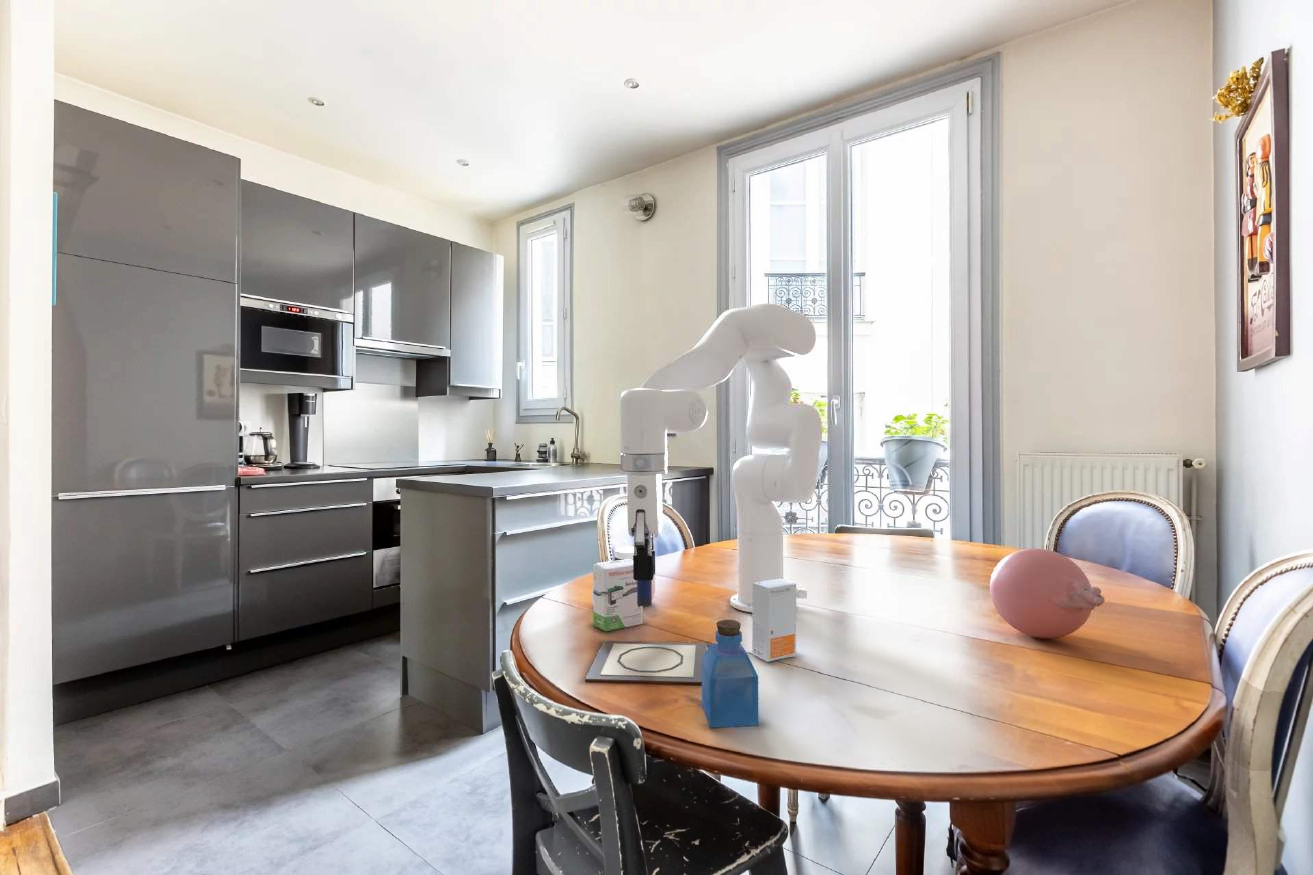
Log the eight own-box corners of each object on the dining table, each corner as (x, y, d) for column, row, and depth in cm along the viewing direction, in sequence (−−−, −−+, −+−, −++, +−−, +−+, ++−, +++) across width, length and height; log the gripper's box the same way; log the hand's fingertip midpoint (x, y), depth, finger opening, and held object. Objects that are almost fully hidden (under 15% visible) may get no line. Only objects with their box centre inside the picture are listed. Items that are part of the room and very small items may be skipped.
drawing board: (707, 645, 104) (707, 641, 104) (706, 684, 88) (706, 680, 88) (604, 642, 106) (604, 639, 106) (585, 681, 90) (585, 677, 90)
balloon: (1051, 665, 94) (1052, 566, 94) (971, 623, 114) (971, 542, 114) (1141, 660, 96) (1142, 563, 95) (1047, 620, 115) (1047, 539, 115)
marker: (652, 602, 100) (652, 541, 100) (651, 606, 97) (650, 544, 97) (638, 601, 100) (637, 541, 100) (636, 606, 98) (635, 544, 97)
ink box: (604, 632, 111) (604, 568, 111) (592, 625, 115) (591, 563, 115) (644, 623, 116) (643, 562, 116) (631, 616, 120) (630, 557, 120)
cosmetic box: (767, 663, 96) (767, 588, 96) (751, 654, 100) (751, 582, 99) (797, 656, 99) (797, 583, 98) (780, 648, 102) (780, 577, 102)
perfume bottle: (702, 705, 82) (701, 616, 82) (747, 702, 82) (746, 615, 82) (709, 727, 76) (709, 632, 75) (758, 725, 76) (757, 630, 76)
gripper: (662, 467, 90) (663, 591, 90) (670, 462, 106) (670, 566, 106) (612, 467, 91) (613, 590, 91) (627, 462, 107) (628, 566, 107)
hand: (644, 576), depth 99 cm, fingers closed on marker, 2 cm apart
